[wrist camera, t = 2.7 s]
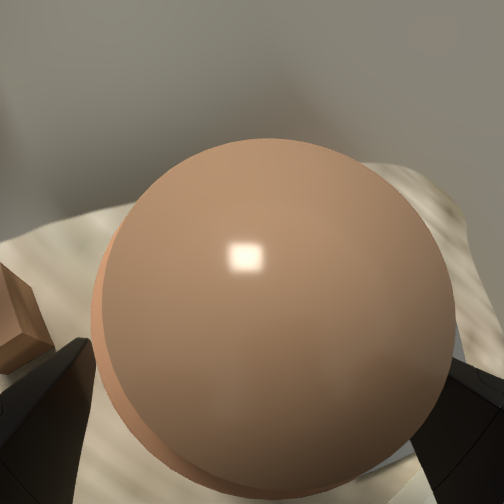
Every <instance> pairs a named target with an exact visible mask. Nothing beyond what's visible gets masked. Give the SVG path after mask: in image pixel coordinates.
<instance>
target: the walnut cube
mask: <svg viewBox="0 0 504 504" xmlns="http://www.w3.org/2000/svg"><path fill="white" fill-rule="evenodd" d="M53 347H54V343H53V341H52V339H51V337H50V334H49V332H48V330H47V327H46V325H45V323H44V320H43V318H42V315H41V313H40V310H39V307H38V305H37V302H36V299H35V297H34V294H33V291H32V288H31V287H30V286H29V285H28V284H26V283H25V282H24V281H23V280H21V279H20V278H19V277H18V276H16V275H15V274H14V273H13V272H11V271H10V270H9V269H8V268H7V267H5V266H4V265H3V264H2V263H1V262H0V374H5V375H8V374H10V373H11V372H13V371H15V370H16V369H18V368H19V367H21V366H23V365H24V364H26V363H28V362H29V361H31V360H33V359H34V358H36V357H38V356H39V355H41V354H43V353H44V352H46V351H48V350H49V349H51V348H53Z"/></svg>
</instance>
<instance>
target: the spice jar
mask: <svg viewBox="0 0 504 504" xmlns="http://www.w3.org/2000/svg"><path fill="white" fill-rule="evenodd" d="M455 331H456V317H455V303H454V296H453V291H452V285H451V281H450V278H449V274H448V271H447V267H446V264H445V262H444V259H443V257H442V254H441V252H440V250H439V247H438V245H437V243H436V241H435V240H434V238H433V236H432V234H431V232H430V230H429V229H428V227H427V226H426V224H425V223H424V221H423V220H422V218H421V217H420V216H419V214H418V213H417V212H416V210H415V209H414V208H413V207H412V206H411V205H410V203H409V202H408V201H407V200H406V199H405V198H404V197H403V196H402V195H401V194H400V193H399V192H398V191H397V190H396V189H395V188H394V187H393V186H392V185H391V184H389V183H388V182H387V181H386V180H384V179H383V178H382V177H381V176H379V175H378V174H377V173H375V172H374V171H372V170H370V169H369V168H367V167H366V166H364V165H363V164H361V163H359V162H357V161H355V160H353V159H351V158H349V157H347V156H345V155H343V154H341V153H338V152H336V151H333V150H330V149H328V148H325V147H321V146H318V145H314V144H310V143H306V142H300V141H294V140H287V139H267V138H266V139H251V140H243V141H237V142H232V143H227V144H224V145H220V146H217V147H214V148H211V149H208V150H205V151H203V152H201V153H199V154H197V155H194V156H192V157H190V158H188V159H186V160H185V161H183V162H181V163H180V164H178V165H176V166H175V167H173V168H172V169H170V170H169V171H168V172H166V173H165V174H164V175H163V176H161V178H159V179H158V180H157V181H155V182H154V183H153V184H152V186H150V187H149V189H148V190H147V191H146V192H145V193H144V194H143V195H142V196H141V197H140V198H139V199H138V201H137V202H136V203H135V205H134V206H133V208H132V209H131V211H130V212H129V213H128V215H127V216H126V217H125V219H124V220H123V222H122V223H121V225H120V226H119V228H118V229H117V231H116V232H115V234H114V235H113V237H112V239H111V241H110V243H109V245H108V247H107V249H106V251H105V253H104V255H103V258H102V261H101V264H100V267H99V270H98V273H97V276H96V280H95V285H94V291H93V297H92V304H91V334H92V342H93V349H94V356H95V360H96V363H97V367H98V370H99V373H100V377H101V380H102V383H103V385H104V387H105V390H106V392H107V394H108V396H109V398H110V400H111V402H112V404H113V406H114V408H115V410H116V411H117V413H118V414H119V416H120V417H121V419H122V420H123V422H124V423H125V425H126V426H127V428H128V429H129V430H130V432H131V433H132V434H133V435H134V436H135V437H136V438H137V439H138V440H139V441H140V443H141V444H142V445H143V446H144V447H145V448H146V449H147V450H148V451H149V452H150V453H151V454H153V455H154V456H155V457H156V458H158V459H159V460H160V461H161V462H163V463H164V464H165V465H167V466H168V467H169V468H170V469H172V470H174V471H175V472H177V473H179V474H181V475H182V476H184V477H186V478H188V479H189V480H191V481H193V482H195V483H197V484H200V485H202V486H205V487H207V488H210V489H213V490H216V491H218V492H221V493H225V494H229V495H234V496H239V497H244V498H250V499H266V500H281V499H292V498H301V497H306V496H310V495H314V494H318V493H322V492H326V491H328V490H331V489H333V488H336V487H338V486H341V485H343V484H345V483H348V482H350V481H352V480H353V479H355V478H357V477H359V476H360V475H362V474H364V473H365V472H367V471H369V470H370V469H372V468H374V467H375V466H377V465H378V464H380V463H381V462H383V461H385V460H386V459H388V458H389V457H390V456H392V455H393V454H394V453H395V452H396V451H397V450H399V449H400V448H401V447H402V446H403V445H404V444H405V443H406V442H408V441H409V439H410V438H411V437H412V436H413V435H414V434H415V433H416V431H417V430H418V429H419V428H420V427H421V425H422V424H423V423H424V421H425V420H426V418H427V417H428V415H429V414H430V412H431V411H432V409H433V407H434V406H435V404H436V402H437V400H438V398H439V396H440V394H441V391H442V389H443V387H444V385H445V382H446V379H447V375H448V372H449V369H450V366H451V361H452V356H453V351H454V345H455Z"/></svg>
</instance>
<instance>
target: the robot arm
mask: <svg viewBox="0 0 504 504" xmlns="http://www.w3.org/2000/svg"><path fill="white" fill-rule="evenodd" d="M95 371H96V360H95V356H94V351H93V347H92V343H91V341H90V339H89V338H80V337H78V338H75V339H74V340H72V341H71V342H70V343H68V344H67V345H66V346H64V347H63V348H61V349H60V350H59V351H57V352H56V353H54V354H53V355H52V356H50V357H49V358H48V359H46V360H45V361H43V362H42V363H41V364H39V365H38V366H37V367H35V368H34V369H33V370H31V371H30V372H28V373H27V374H26V375H24V376H23V377H22V378H20V379H19V380H18V381H16V382H15V383H14V384H12V385H11V386H10V387H8V388H7V389H6V390H4V391H3V392H2V393H1V394H0V504H72V503H73V496H74V490H75V484H76V478H77V472H78V466H79V461H80V456H81V451H82V446H83V441H84V436H85V432H86V427H87V423H88V418H89V414H90V409H91V401H92V393H93V385H94V378H95ZM409 440H410V442H411V444H412V446H413V449H414V451H415V453H416V455H417V457H418V460H419V462H420V464H421V467H422V469H423V471H424V473H425V476H426V478H427V480H428V483H429V485H430V488H431V490H432V492H433V495H434V497H435V500H436V502H437V504H504V379H501V378H499V377H496V376H494V375H491V374H489V373H487V372H485V371H482V370H480V369H478V368H475V367H473V366H471V365H469V364H467V363H465V362H463V361H460V360H458V359H456V358H454V357H452V361H451V366H450V369H449V372H448V375H447V379H446V382H445V385H444V387H443V389H442V391H441V394H440V396H439V398H438V400H437V402H436V404H435V406H434V407H433V409H432V411H431V412H430V414H429V415H428V417H427V418H426V420H425V421H424V423H423V424H422V425H421V427H420V428H419V429H418V430H417V431H416V433H415V434H414V435H413V436H412V437H411V438H410V439H409Z"/></svg>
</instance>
